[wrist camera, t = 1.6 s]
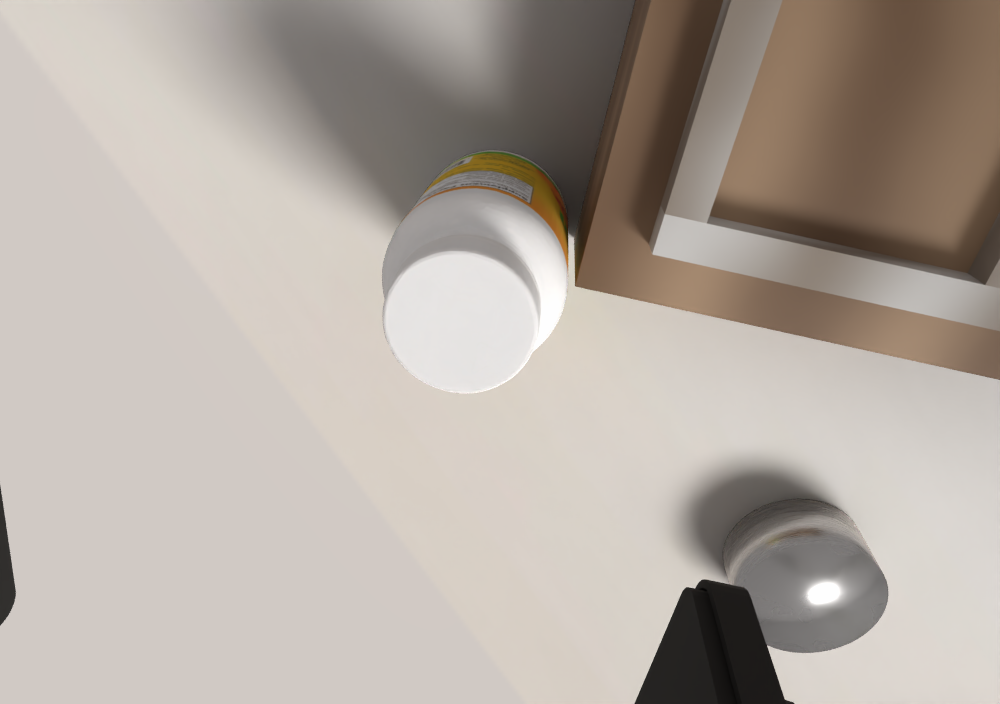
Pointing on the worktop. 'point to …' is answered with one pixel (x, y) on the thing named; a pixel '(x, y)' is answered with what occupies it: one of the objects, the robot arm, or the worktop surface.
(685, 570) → the worktop surface
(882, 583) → the metal tin
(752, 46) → the walnut stand
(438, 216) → the supplement bottle
